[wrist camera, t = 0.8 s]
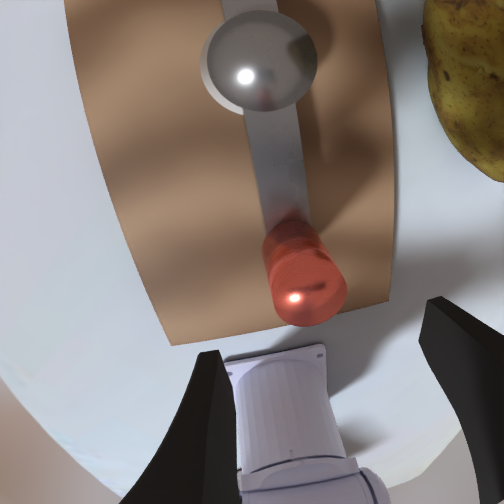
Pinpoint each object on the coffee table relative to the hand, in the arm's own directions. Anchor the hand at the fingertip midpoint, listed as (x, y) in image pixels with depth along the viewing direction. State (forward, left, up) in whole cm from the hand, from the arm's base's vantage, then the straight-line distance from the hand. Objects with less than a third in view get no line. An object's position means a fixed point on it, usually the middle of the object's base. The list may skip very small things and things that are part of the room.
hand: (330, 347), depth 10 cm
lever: (+8, 0, -8) cm, 11 cm away
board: (+5, -6, -10) cm, 12 cm away
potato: (+8, -12, -10) cm, 17 cm away
